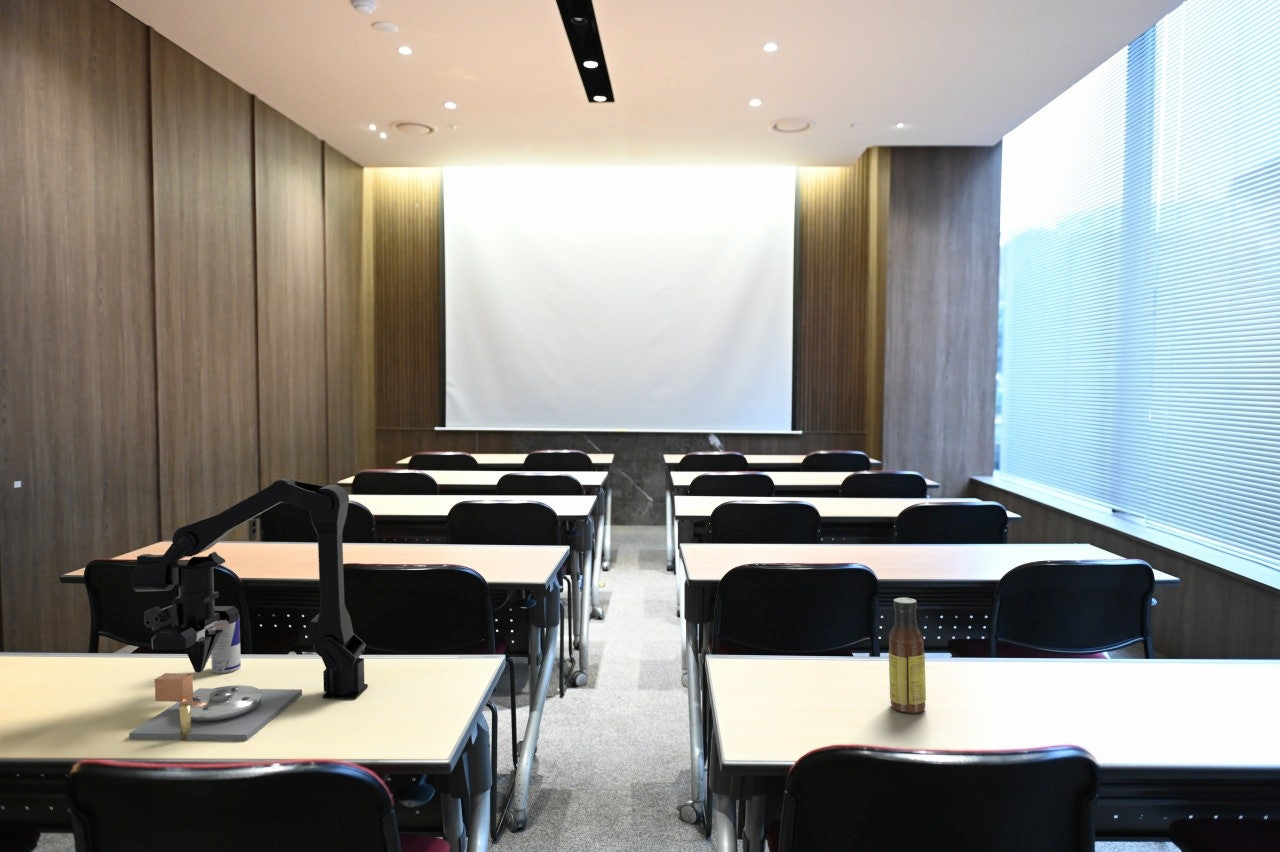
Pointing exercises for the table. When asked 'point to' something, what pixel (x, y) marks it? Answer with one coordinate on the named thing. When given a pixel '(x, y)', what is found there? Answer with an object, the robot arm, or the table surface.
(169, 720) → the base board
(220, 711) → the flange plate
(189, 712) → the dowel
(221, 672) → the energy drink
